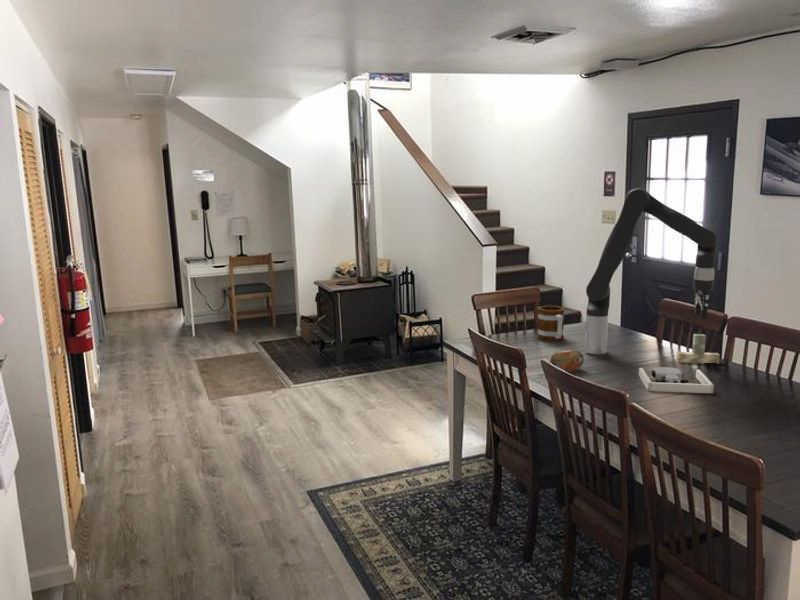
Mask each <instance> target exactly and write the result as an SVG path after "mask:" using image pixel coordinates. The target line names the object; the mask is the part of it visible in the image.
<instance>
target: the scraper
mask: <svg viewBox="0 0 800 600" xmlns="http://www.w3.org/2000/svg"><path fill="white" fill-rule="evenodd" d="M692 335H693V336H692V347H691V348H692V349H691V350H692V351H689V352H688V351H676V362H677V361H678V362H680V363H679V364H704V363H717V364H716V365H719V364H720V355H721V354H719V353H718V352H705V350H706V348H705V347H706V335H705V334H703V333H693V334H692ZM678 362H677V363H678ZM682 362H684V363H682ZM685 362H687V363H685Z"/></svg>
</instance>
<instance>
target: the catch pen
mask: <svg viewBox="0 0 800 600" xmlns="http://www.w3.org/2000/svg"><path fill="white" fill-rule="evenodd" d="M638 376H639V379H640V380H641V382H642V383H643V385H644V387H645V388H646V390H647V391H648V392H669V393H672V392H673V393H691V394H692V393H693V394H695V393H696V394H714V391H715V390H714V388H715V384H713V382H712V381H710V379H709V377H707V376H706V375H705V374H704V373H703V372H702V370H701V369H696V370H695V378H696V379H697V380H698V381H699V383H691V384H687V383H681V382H680V383H660V382H659V381H658V382H655V381H654V382H653V381H651V380H650V378H649V375H648V374H647V373H646V371H645V370H644V368H643V367H639V368H638Z"/></svg>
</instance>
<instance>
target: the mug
mask: <svg viewBox="0 0 800 600" xmlns="http://www.w3.org/2000/svg"><path fill="white" fill-rule="evenodd" d="M564 312H565V307H564V306H559V305H543V306H538V307H537V336H536V337H537V340H539V341H543V342H561V341H564V339H563V338H564V337H565V336H564V326H565V319H564V314H565V313H564Z"/></svg>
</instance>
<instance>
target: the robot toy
mask: <svg viewBox="0 0 800 600" xmlns="http://www.w3.org/2000/svg"><path fill="white" fill-rule="evenodd" d="M648 370H649V372H650V376H652V377H653V379H655V381H656V380H657V381H658V382H659V383H687V384H692V383H691V382H689V380H686V379H685V378H684V377H685V373H684V372H683V369H682V368H680V369H679V368H677V367H668V366H667V367H666V366H663V367H655V368H653V370H651V368H650V367H649V368H648Z"/></svg>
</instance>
